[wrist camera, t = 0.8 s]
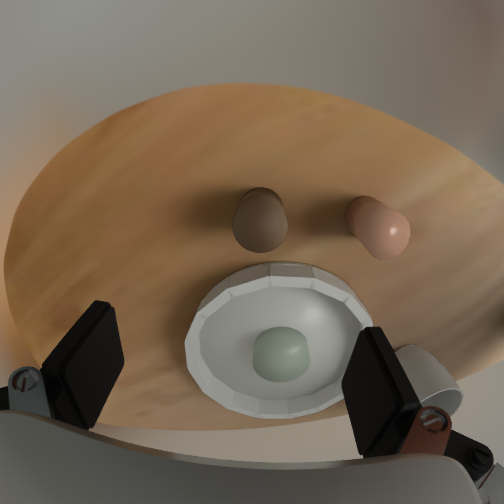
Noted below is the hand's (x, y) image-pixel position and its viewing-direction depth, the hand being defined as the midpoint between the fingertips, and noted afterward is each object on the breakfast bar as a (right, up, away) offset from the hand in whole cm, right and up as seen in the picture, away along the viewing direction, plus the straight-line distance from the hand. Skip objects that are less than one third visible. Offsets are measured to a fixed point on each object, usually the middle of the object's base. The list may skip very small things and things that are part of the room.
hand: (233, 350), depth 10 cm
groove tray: (+4, -7, +22) cm, 23 cm away
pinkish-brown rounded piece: (+11, +7, +16) cm, 21 cm away
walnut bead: (+2, +7, +17) cm, 18 cm away
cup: (+21, -10, +23) cm, 32 cm away
